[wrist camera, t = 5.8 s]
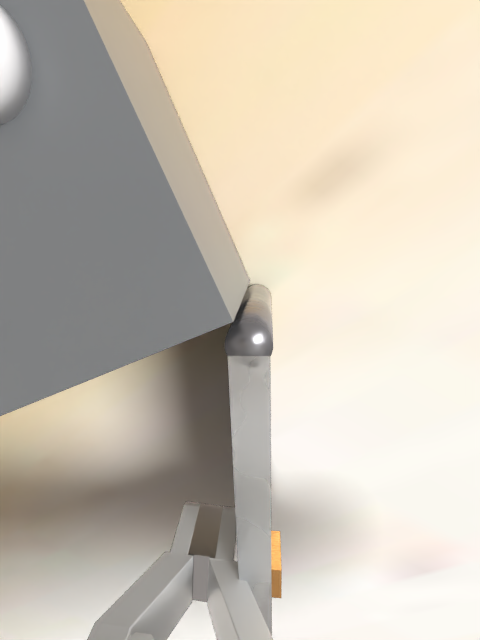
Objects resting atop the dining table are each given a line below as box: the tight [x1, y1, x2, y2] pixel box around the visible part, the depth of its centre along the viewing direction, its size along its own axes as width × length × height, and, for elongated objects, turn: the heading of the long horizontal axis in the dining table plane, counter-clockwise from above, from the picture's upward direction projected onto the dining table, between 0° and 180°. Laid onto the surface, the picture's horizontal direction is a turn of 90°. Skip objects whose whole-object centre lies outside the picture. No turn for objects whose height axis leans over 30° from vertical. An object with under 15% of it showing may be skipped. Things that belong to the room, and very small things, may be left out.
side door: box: [224, 284, 281, 636], centre depth 9 cm, size 10×1×4 cm, turn 2°
